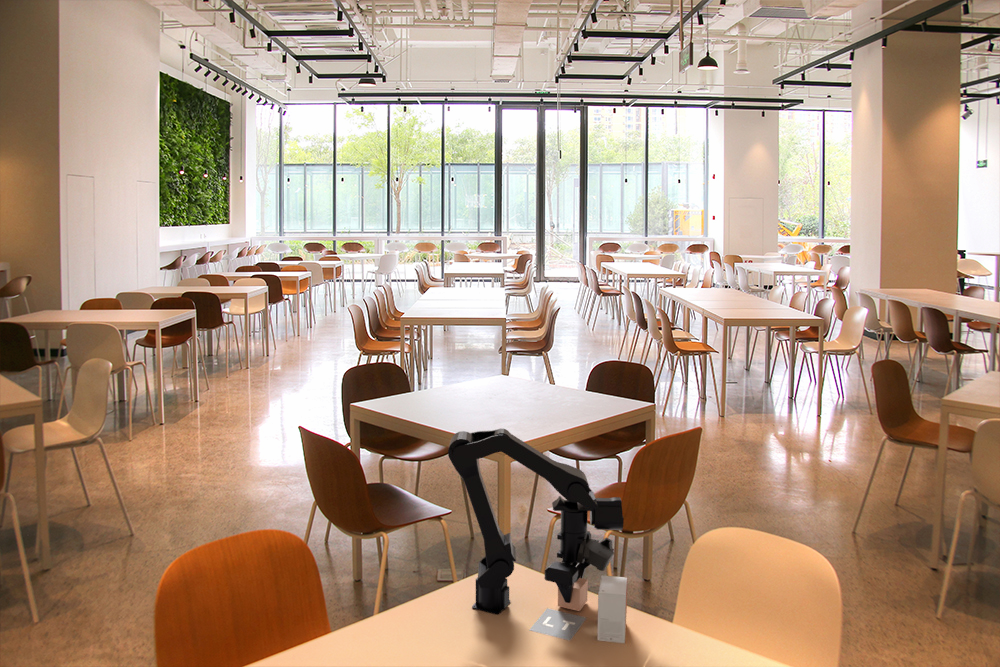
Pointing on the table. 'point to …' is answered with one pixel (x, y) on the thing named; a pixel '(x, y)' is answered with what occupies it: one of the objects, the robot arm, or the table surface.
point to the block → (575, 596)
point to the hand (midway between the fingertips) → (572, 596)
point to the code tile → (558, 624)
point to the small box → (612, 609)
